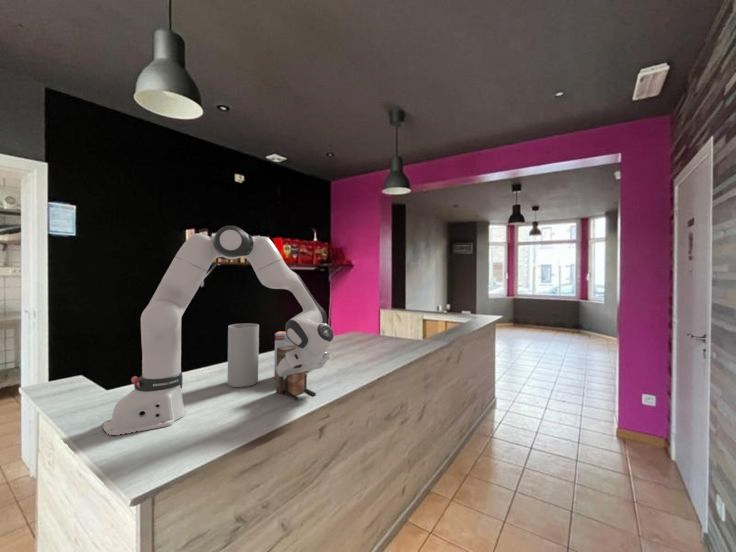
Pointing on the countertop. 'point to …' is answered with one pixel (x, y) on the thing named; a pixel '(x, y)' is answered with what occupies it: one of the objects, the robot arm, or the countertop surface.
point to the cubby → (282, 383)
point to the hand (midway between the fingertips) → (295, 375)
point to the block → (295, 383)
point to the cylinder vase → (243, 354)
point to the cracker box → (280, 341)
